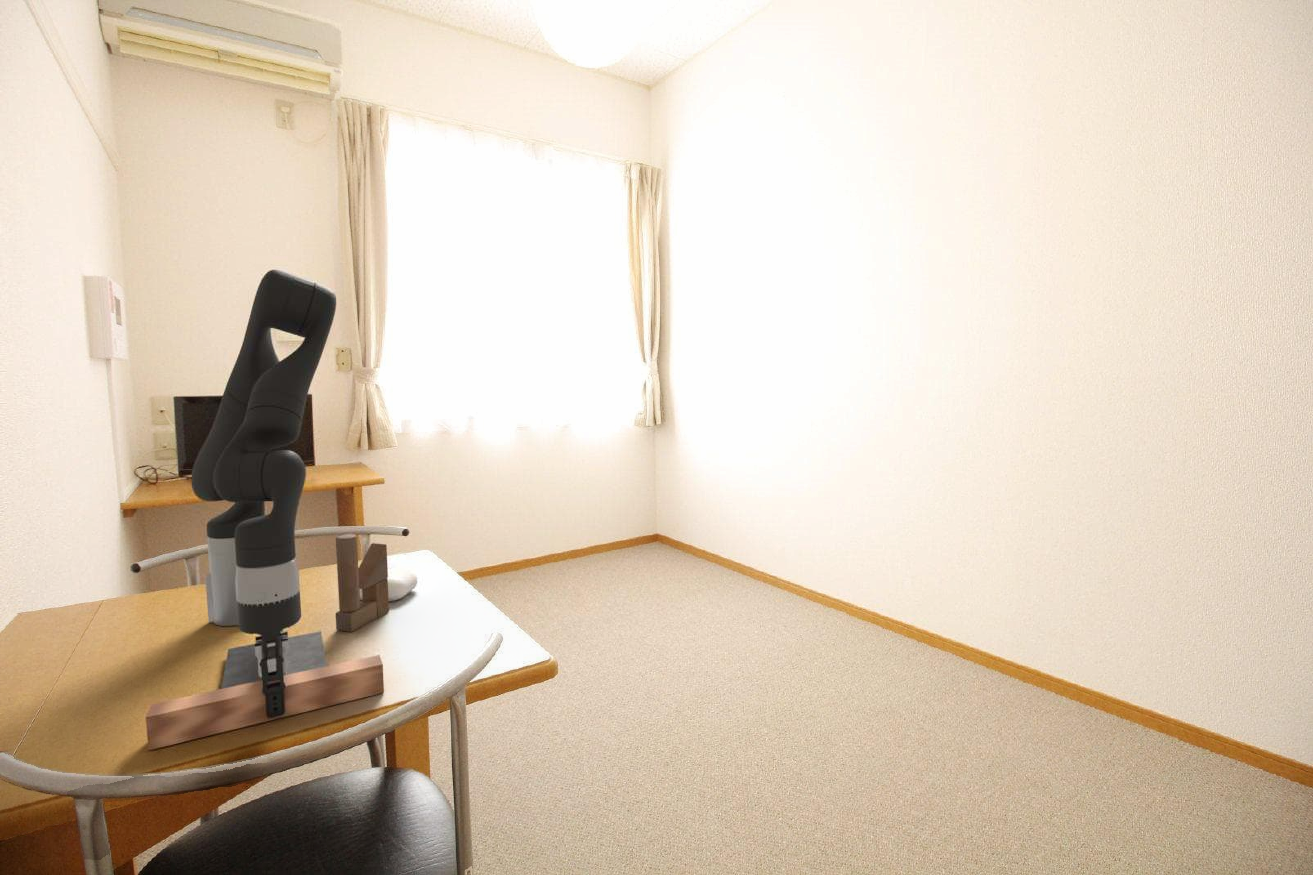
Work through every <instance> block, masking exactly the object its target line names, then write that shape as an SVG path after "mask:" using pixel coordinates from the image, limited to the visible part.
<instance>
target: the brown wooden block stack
mask: <svg viewBox="0 0 1313 875" xmlns="http://www.w3.org/2000/svg"><path fill="white" fill-rule="evenodd" d="M357 537H358V536H357V535H356V534H354V533H348V534H347V533H345V534H341V535H338V536H336V537H335V550H336V551H335V552H336V568H337V569H336V570H337V571H336V572H337V587H338V590H337V591H338V607H339V608H338V611H336V612H335V626H336V627H335V628H336V631H341V632H349V633H352V632H354V631H356V630H358V629H359V628H361V627H364V626H365V625H367V624H368V623H371V622H372V621H374V620H377V618H380V617H382V616H383V615H385V614H387V613H388V612H390V601H389V598H388V579H387V578H388V569H389V568H388V550H387V548H388V547H387V546H388V545H387V544H386V543H378V542H377V543H376V542H375V543H374V542H372V543H371V544H370V545H369V548H368V549H367V551H366V553H365V555H364V557H363V559H362V561H361V563H360V564H359V555H358V554H359V552H358V538H357ZM359 589H362V598H363V600H360V591H359Z"/></svg>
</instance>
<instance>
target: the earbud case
mask: <svg viewBox="0 0 1313 875" xmlns="http://www.w3.org/2000/svg"><path fill="white" fill-rule="evenodd" d="M387 579H388V598H389V602H393V601H397V600H400V599H402V598H404V597H405V596H406V595H408V594H409V593H410V592H412V591H413V590H414V589H415V588H416V587H417V585H418V577H417V575H416V574H415V573H414V572H413V571H410V570H407V569H403V568H388V578H387ZM359 591H360V601H363V598H362V589H359Z"/></svg>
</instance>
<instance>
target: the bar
mask: <svg viewBox="0 0 1313 875" xmlns="http://www.w3.org/2000/svg"><path fill="white" fill-rule="evenodd" d="M384 681H385V680H384V665H383V661H382V657H381V656H380V655H379V654H377V655H373V656H368V657H364V658H359V659H355V660H354V659H353V660H350V661H345V662H341V663H335V664H331V665H327V666H326V667H321V668H316V669H312V670H307V671H303V672H298V673H293V674H289V675H284V683H286V686H285V687H286V688H285V689H284V701H285V713H284V714H283V715H281V716H277V717H273V718H268V717H267V715H266V699H265V695H263V693H262V689H263V683H262V680H261V681H256V682H252V683H247V684H242V685H238V686H233V687H229V688H224V689H215V690H212V691H207V692H202V693H197V694H192V695H188V696H184V697H183V696H182V697H179V698H173V699H169V700H164V701H160V702H155V703H150V705H149V707H148V710H147V713H146V716H145V723H146V724H145V725H146V735H147V748H148V751H153V750H157V749H160V748H164V747H168V746H172V745H177V744H180V743H184V742H187V741H188V742H189V741H192V740H197V739H201V738H205V737H208V736H212V735H217V734H221V733H225V732H228V731H229V732H230V731H233V730H237V729H241V728H245V727H249V726H250V727H251V726H252V725H253V726H254V725H257V724H261V723H262V724H263V723H266V722H269V721H273V720H278V719H282V718H285V717H290V716H293V715H297V714H301V713H306V712H310V711H314V710H319V709H321V708H322V709H323V708H327V707H330V706H334V705H338V704H343V703H347V702H351V701H354V700H359V699H362V698H367V697H371V696H376V695H378V694H383V693H385V689H384V688H385V685H384ZM274 682H279V680H276V681H272V682H268V684H270V683H274Z"/></svg>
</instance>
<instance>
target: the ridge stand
mask: <svg viewBox="0 0 1313 875" xmlns="http://www.w3.org/2000/svg"><path fill="white" fill-rule="evenodd" d="M282 632H285V631H284V629H283V630H282ZM255 644H256V643H252V644H246V645H241V646H237V647H231V648H228V649H227V655H226V660H225V666H224V672H223V678H222V683H221V689H224V688H229V687H233V686H238V685H242V684H247V683H252V682H256V681H261V680H262V677H260V676H259V673H258V658H257V657H256V655H255ZM326 657H327V656H326V652H325V646H324V639H323V634H322V630H321V631H316V632H315V631H314V632H310V633H305V634H301V635H299V634H298V635H294V636H290V637H289V636H288V650H287V668H288V669H287V671H286V672H285V673H284V675H289V674H293V673H298V672H303V671H307V670H312V669H316V668H321V667H326V666H328V663H327V658H326Z"/></svg>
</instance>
